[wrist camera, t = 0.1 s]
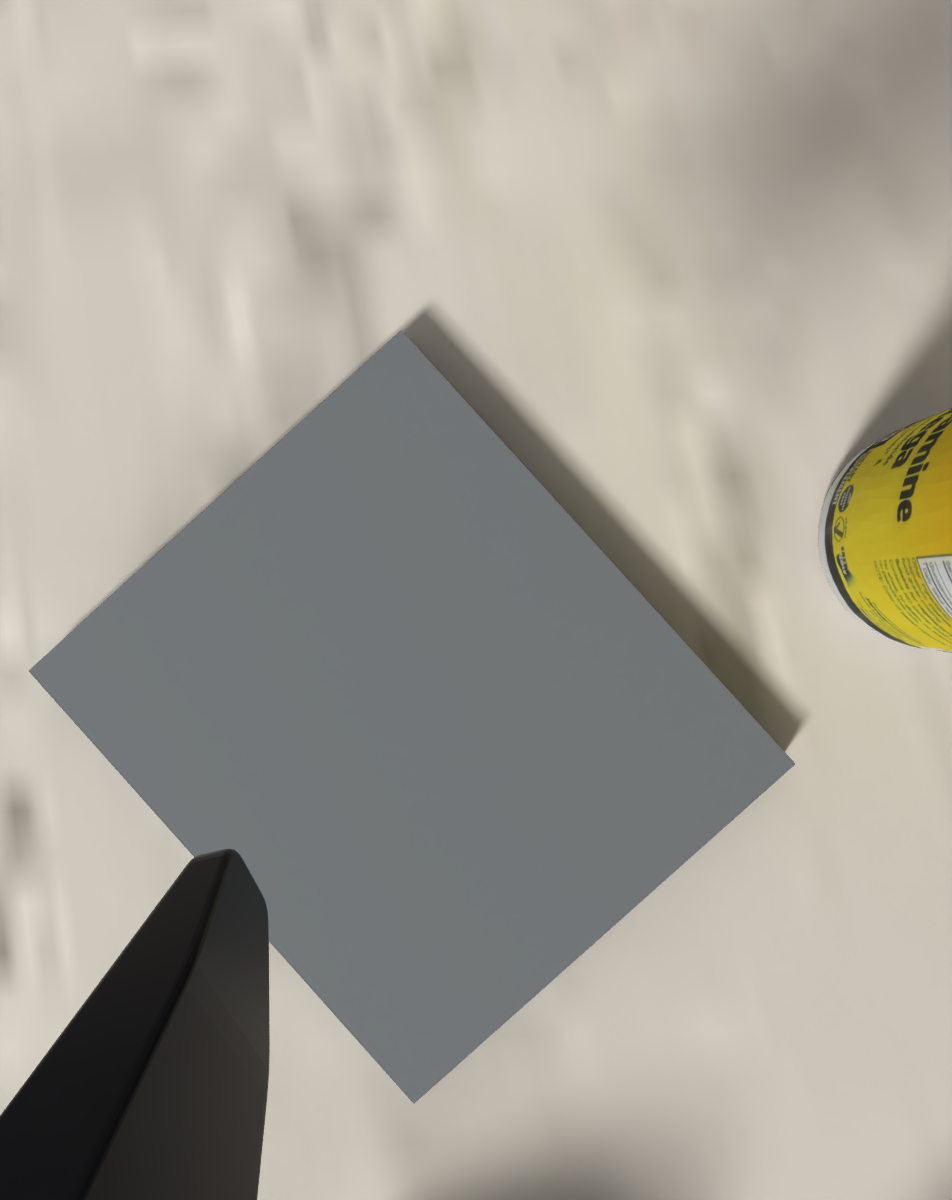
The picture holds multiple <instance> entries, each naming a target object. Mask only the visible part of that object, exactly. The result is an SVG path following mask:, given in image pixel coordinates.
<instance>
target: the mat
mask: <svg viewBox="0 0 952 1200" xmlns="http://www.w3.org/2000/svg"><path fill="white" fill-rule="evenodd" d="M29 672H30V673H31V674H32V675H33V676H34V678H35V679H36V680H37V681H38V682H39V683H40V684H41V685H42V687H43V688H44V689H45V690H46V691H47V692H48V693H49V694H50V696H51V697H52V698H53V699H54V700H55V701H56V702H57V703H58V705H59V706H60V707H61V708H62V709H63V710H64V711H65V712H66V714H67V715H68V716H69V717H70V718H71V719H72V720H73V721H74V723H75V724H76V725H77V726H78V727H79V728H80V729H81V730H82V732H83V733H84V734H85V735H86V736H87V737H88V738H89V739H90V740H91V742H92V743H93V744H94V745H95V746H96V747H97V748H98V749H99V751H100V752H101V753H102V754H103V755H104V756H105V757H106V758H107V760H108V761H109V762H110V763H111V764H112V765H113V766H114V767H115V769H116V770H117V771H118V772H119V773H120V774H121V775H122V776H123V778H124V779H125V780H126V781H127V782H128V783H129V784H130V785H131V787H132V788H133V789H134V790H135V791H136V792H137V793H138V794H139V796H140V797H141V798H142V799H143V800H144V801H145V802H146V803H147V805H148V806H149V807H150V808H151V809H152V810H153V811H154V812H155V814H156V815H157V816H158V817H159V818H160V819H161V820H162V821H163V822H164V824H165V825H166V826H167V827H168V828H169V829H170V830H171V831H172V833H173V834H174V835H175V836H176V837H177V838H178V839H179V840H180V842H181V843H182V844H183V845H184V846H185V847H186V848H187V849H188V851H189V852H190V853H191V854H192V855H193V856H194V857H196V856H198V855H202V854H206V853H211V852H215V851H219V850H224V849H234V850H236V851H237V852H238V853H239V854H240V856H241V857H242V859H243V860H244V862H245V864H246V866H247V868H248V869H249V871H250V873H251V875H252V876H253V878H254V880H255V882H256V884H257V885H258V887H259V889H260V891H261V893H262V894H263V897H264V899H265V902H266V906H267V911H268V922H269V942H270V943H271V944H272V945H273V946H274V947H275V948H276V949H277V951H278V952H279V953H280V954H281V955H282V956H283V957H284V958H285V960H286V961H287V962H288V963H289V964H290V965H291V966H292V967H293V969H294V970H295V971H296V972H297V973H298V974H299V975H300V976H301V978H302V979H303V980H304V981H305V982H306V983H307V984H308V985H309V986H310V988H311V989H312V990H313V991H314V992H315V993H316V994H317V995H318V997H319V998H320V999H321V1000H322V1001H323V1002H324V1003H325V1004H326V1006H327V1007H328V1008H329V1009H330V1010H331V1011H332V1012H333V1013H334V1015H335V1016H336V1017H337V1018H338V1019H339V1020H340V1021H341V1022H342V1024H343V1025H344V1026H345V1027H346V1028H347V1029H348V1030H349V1031H350V1033H351V1034H352V1035H353V1036H354V1037H355V1038H356V1039H357V1040H358V1042H359V1043H360V1044H361V1045H362V1046H363V1047H364V1048H365V1049H366V1051H367V1052H368V1053H369V1054H370V1055H371V1056H372V1057H373V1058H374V1060H375V1061H376V1062H377V1063H378V1064H379V1065H380V1066H381V1067H382V1068H383V1070H384V1071H385V1072H386V1073H387V1074H388V1075H389V1076H390V1077H391V1079H392V1080H393V1081H394V1082H395V1083H396V1084H397V1085H398V1086H399V1088H400V1089H401V1090H402V1091H403V1092H404V1093H405V1094H406V1095H407V1097H408V1098H409V1099H410V1100H411V1101H412V1102H413V1103H415V1102H416V1101H418V1100H419V1099H420V1098H421V1097H422V1096H423V1095H424V1094H425V1093H427V1092H428V1091H429V1090H430V1089H431V1088H432V1087H433V1086H434V1085H436V1084H437V1083H438V1082H439V1081H440V1080H441V1079H442V1078H443V1077H445V1076H446V1075H447V1074H448V1073H449V1072H450V1071H451V1070H452V1069H454V1068H455V1067H456V1066H457V1065H458V1064H459V1063H460V1062H461V1061H463V1060H464V1059H465V1058H466V1057H467V1056H468V1055H469V1054H470V1053H472V1052H473V1051H474V1050H475V1049H476V1048H477V1047H478V1046H479V1045H480V1044H482V1043H483V1042H484V1041H485V1040H486V1039H487V1038H488V1037H489V1036H491V1035H492V1034H493V1033H494V1032H495V1031H496V1030H497V1029H498V1028H500V1027H501V1026H502V1025H503V1024H504V1023H505V1022H506V1021H507V1020H509V1019H510V1018H511V1017H512V1016H513V1015H514V1014H515V1013H516V1012H518V1011H519V1010H520V1009H521V1008H522V1007H523V1006H524V1005H525V1004H527V1003H528V1002H529V1001H530V1000H531V999H532V998H533V997H534V996H536V995H537V994H538V993H539V992H540V991H541V990H542V989H543V988H545V987H546V986H547V985H548V984H549V983H550V982H551V981H552V980H553V979H555V978H556V977H557V976H558V975H559V974H560V973H561V972H562V971H564V970H565V969H566V968H567V967H568V966H569V965H570V964H571V963H573V962H574V961H575V960H576V959H577V958H578V957H579V956H580V955H582V954H583V953H584V952H585V951H586V950H587V949H588V948H589V947H591V946H592V945H593V944H594V943H595V942H596V941H597V940H598V939H600V938H601V937H602V936H603V935H604V934H605V933H606V932H607V931H609V930H610V929H611V928H612V927H613V926H614V925H615V924H616V923H617V922H619V921H620V920H621V919H622V918H623V917H624V916H625V915H626V914H628V913H629V912H630V911H631V910H632V909H633V908H634V907H635V906H637V905H638V904H639V903H640V902H641V901H642V900H643V899H644V898H646V897H647V896H648V895H649V894H650V893H651V892H652V891H653V890H655V889H656V888H657V887H658V886H659V885H660V884H661V883H662V882H664V881H665V880H666V879H667V878H668V877H669V876H670V875H671V874H673V873H674V872H675V871H676V870H677V869H678V868H679V867H680V866H682V865H683V864H684V863H685V862H686V861H687V860H688V859H689V858H690V857H692V856H693V855H694V854H695V853H696V852H697V851H698V850H699V849H701V848H702V847H703V846H704V845H705V844H706V843H707V842H708V841H710V840H711V839H712V838H713V837H714V836H715V835H716V834H717V833H719V832H720V831H721V830H722V829H723V828H724V827H725V826H726V825H728V824H729V823H730V822H731V821H732V820H733V819H734V818H735V817H737V816H738V815H739V814H740V813H741V812H742V811H743V810H744V809H746V808H747V807H748V806H749V805H750V804H751V803H752V802H753V801H754V800H756V799H757V798H758V797H759V796H760V795H761V794H762V793H763V792H765V791H766V790H767V789H768V788H769V787H770V786H771V785H772V784H774V783H775V782H776V781H777V780H778V779H779V778H780V777H781V776H783V775H784V774H785V773H786V772H787V771H788V770H789V769H790V768H792V767H793V766H794V765H795V763H794V762H793V761H792V760H791V758H790V757H789V756H788V755H787V754H786V753H785V752H784V751H783V750H782V749H781V747H780V746H779V745H778V744H777V743H776V742H775V741H774V740H773V739H772V738H771V736H770V735H769V734H768V733H767V732H766V731H765V730H764V729H763V728H762V727H761V725H760V724H759V723H758V722H757V721H756V720H755V719H754V718H753V717H752V716H751V714H750V713H749V712H748V711H747V710H746V709H745V708H744V707H743V706H742V705H741V703H740V702H739V701H738V700H737V699H736V698H735V697H734V696H733V695H732V694H731V692H730V691H729V690H728V689H727V688H726V687H725V686H724V685H723V684H722V683H721V681H720V680H719V679H718V678H717V677H716V676H715V675H714V674H713V673H712V671H711V670H710V669H709V668H708V667H707V666H706V665H705V664H704V663H703V662H702V660H701V659H700V658H699V657H698V656H697V655H696V654H695V653H694V652H693V651H692V649H691V648H690V647H689V646H688V645H687V644H686V643H685V642H684V641H683V640H682V638H681V637H680V636H679V635H678V634H677V633H676V632H675V631H674V630H673V629H672V627H671V626H670V625H669V624H668V623H667V622H666V621H665V620H664V619H663V618H662V616H661V615H660V614H659V613H658V612H657V611H656V610H655V609H654V608H653V607H652V605H651V604H650V603H649V602H648V601H647V600H646V599H645V598H644V597H643V596H642V594H641V593H640V592H639V591H638V590H637V589H636V588H635V587H634V586H633V585H632V583H631V582H630V581H629V580H628V579H627V578H626V577H625V576H624V575H623V573H622V572H621V571H620V570H619V569H618V568H617V567H616V566H615V565H614V564H613V562H612V561H611V560H610V559H609V558H608V557H607V556H606V555H605V554H604V553H603V551H602V550H601V549H600V548H599V547H598V546H597V545H596V544H595V543H594V542H593V540H592V539H591V538H590V537H589V536H588V535H587V534H586V533H585V532H584V531H583V529H582V528H581V527H580V526H579V525H578V524H577V523H576V522H575V521H574V520H573V518H572V517H571V516H570V515H569V514H568V513H567V512H566V511H565V510H564V509H563V507H562V506H561V505H560V504H559V503H558V502H557V501H556V500H555V499H554V498H553V496H552V495H551V494H550V493H549V492H548V491H547V490H546V489H545V488H544V487H543V485H542V484H541V483H540V482H539V481H538V480H537V479H536V478H535V477H534V475H533V474H532V473H531V472H530V471H529V470H528V469H527V468H526V467H525V466H524V464H523V463H522V462H521V461H520V460H519V459H518V458H517V457H516V456H515V455H514V453H513V452H512V451H511V450H510V449H509V448H508V447H507V446H506V445H505V444H504V442H503V441H502V440H501V439H500V438H499V437H498V436H497V435H496V434H495V433H494V431H493V430H492V429H491V428H490V427H489V426H488V425H487V424H486V423H485V422H484V420H483V419H482V418H481V417H480V416H479V415H478V414H477V413H476V412H475V411H474V409H473V408H472V407H471V406H470V405H469V404H468V403H467V402H466V401H465V400H464V398H463V397H462V396H461V395H460V394H459V393H458V392H457V391H456V390H455V389H454V387H453V386H452V385H451V384H450V383H449V382H448V381H447V380H446V379H445V377H444V376H443V375H442V374H441V373H440V372H439V371H438V370H437V369H436V368H435V366H434V365H433V364H432V363H431V362H430V361H429V360H428V359H427V358H426V357H425V355H424V354H423V353H422V352H421V351H420V350H419V349H418V348H417V347H416V346H415V344H414V343H413V342H412V341H411V340H410V339H409V338H408V337H407V336H406V335H405V333H404V332H403V331H402V330H401V331H400V332H399V333H398V334H397V335H395V336H394V337H393V338H392V339H391V340H390V341H389V342H388V343H387V344H386V345H385V346H383V347H382V348H381V349H380V350H379V351H378V352H377V353H376V354H375V355H374V356H372V357H371V358H370V359H369V360H368V361H367V362H366V363H365V364H364V365H363V366H362V367H360V368H359V369H358V370H357V371H356V372H355V373H354V374H353V375H352V376H351V377H350V378H348V379H347V380H346V381H345V382H344V383H343V384H342V385H341V386H340V387H339V388H337V389H336V390H335V391H334V392H333V393H332V394H331V395H330V396H329V397H328V398H327V399H325V400H324V401H323V402H322V403H321V404H320V405H319V406H318V407H317V408H316V409H315V410H313V411H312V412H311V413H310V414H309V415H308V416H307V417H306V418H305V419H304V420H302V421H301V422H300V423H299V424H298V425H297V426H296V427H295V428H294V429H293V430H292V431H290V432H289V433H288V434H287V435H286V436H285V437H284V438H283V439H282V440H281V441H280V442H278V443H277V444H276V445H275V446H274V447H273V448H272V449H271V450H270V451H269V452H268V453H266V454H265V455H264V456H263V457H262V458H261V459H260V460H259V461H258V462H257V463H255V464H254V465H253V466H252V467H251V468H250V469H249V470H248V471H247V472H246V473H245V474H243V475H242V476H241V477H240V478H239V479H238V480H237V481H236V482H235V483H234V484H233V485H231V486H230V487H229V488H228V489H227V490H226V491H225V492H224V493H223V494H222V495H220V496H219V497H218V498H217V499H216V500H215V501H214V502H213V503H212V504H211V505H210V506H208V507H207V508H206V509H205V510H204V511H203V512H202V513H201V514H200V515H199V516H198V517H196V518H195V519H194V520H193V521H192V522H191V523H190V524H189V525H188V526H187V527H185V528H184V529H183V530H182V531H181V532H180V533H179V534H178V535H177V536H176V537H175V538H173V539H172V540H171V541H170V542H169V543H168V544H167V545H166V546H165V547H164V548H163V549H161V550H160V551H159V552H158V553H157V554H156V555H155V556H154V557H153V558H152V559H151V560H149V561H148V562H147V563H146V564H145V565H144V566H143V567H142V568H141V569H140V570H138V571H137V572H136V573H135V574H134V575H133V576H132V577H131V578H130V579H129V580H128V581H126V582H125V583H124V584H123V585H122V586H121V587H120V588H119V589H118V590H117V591H116V592H114V593H113V594H112V595H111V596H110V597H109V598H108V599H107V600H106V601H105V602H103V603H102V604H101V605H100V606H99V607H98V608H97V609H96V610H95V611H94V612H93V613H91V614H90V615H89V616H88V617H87V618H86V619H85V620H84V621H83V622H82V623H81V624H79V625H78V626H77V627H76V628H75V629H74V630H73V631H72V632H71V633H70V634H68V635H67V636H66V637H65V638H64V639H63V640H62V641H61V642H60V643H59V644H58V645H56V646H55V647H54V648H53V649H52V650H51V651H50V652H49V653H48V654H47V655H46V656H44V657H43V658H42V659H41V660H40V661H39V662H38V663H37V664H36V665H35V666H33V667H32V668H31V669H30V670H29Z"/></svg>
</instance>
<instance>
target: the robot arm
mask: <svg viewBox="0 0 952 1200" xmlns="http://www.w3.org/2000/svg"><path fill="white" fill-rule="evenodd" d="M268 1078H269V922H268V911H267V906H266V902H265V899H264V897H263V894H262V893H261V891H260V889H259V887H258V885H257V884H256V882H255V880H254V878H253V876H252V875H251V873H250V871H249V869H248V868H247V866H246V864H245V862H244V860H243V859H242V857H241V856H240V854H239V853H238V852H237V851H236V850H234V849H224V850H219V851H215V852H211V853H206V854H202V855H198V856H196V857H194V858H193V859H192V860H191V861H190V862H189V863H188V864H187V865H186V867H185V868H184V869H183V871H182V872H181V874H180V875H179V876H178V878H177V879H176V880H175V882H174V883H173V884H172V886H171V887H170V888H169V890H168V891H167V892H166V894H165V895H164V896H163V898H162V899H161V900H160V902H159V903H158V904H157V906H156V907H155V908H154V910H153V911H152V912H151V914H150V915H149V917H148V918H147V919H146V921H145V922H144V923H143V925H142V926H141V927H140V929H139V930H138V931H137V933H136V934H135V935H134V937H133V938H132V939H131V941H130V942H129V943H128V945H127V946H126V947H125V949H124V950H123V951H122V953H121V954H120V956H119V957H118V958H117V960H116V961H115V962H114V964H113V965H112V966H111V968H110V969H109V970H108V972H107V973H106V974H105V976H104V977H103V978H102V980H101V981H100V982H99V984H98V985H97V986H96V988H95V989H94V990H93V992H92V993H91V995H90V996H89V997H88V999H87V1000H86V1001H85V1003H84V1004H83V1005H82V1007H81V1008H80V1009H79V1011H78V1012H77V1013H76V1015H75V1016H74V1017H73V1019H72V1020H71V1021H70V1023H69V1024H68V1025H67V1027H66V1028H65V1029H64V1031H63V1032H62V1033H61V1035H60V1036H59V1038H58V1039H57V1040H56V1042H55V1043H54V1044H53V1046H52V1047H51V1048H50V1050H49V1051H48V1052H47V1054H46V1055H45V1056H44V1058H43V1059H42V1060H41V1062H40V1063H39V1064H38V1066H37V1067H36V1068H35V1070H34V1071H33V1072H32V1074H31V1075H30V1077H29V1078H28V1079H27V1081H26V1082H25V1083H24V1085H23V1086H22V1087H21V1089H20V1090H19V1091H18V1093H17V1094H16V1095H15V1097H14V1098H13V1099H12V1101H11V1102H10V1103H9V1105H8V1106H7V1107H6V1109H5V1110H4V1111H3V1113H2V1114H1V1115H0V1200H257V1194H258V1184H259V1174H260V1164H261V1154H262V1144H263V1134H264V1124H265V1113H266V1103H267V1092H268Z"/></svg>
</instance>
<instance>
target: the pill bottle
mask: <svg viewBox="0 0 952 1200" xmlns="http://www.w3.org/2000/svg"><path fill="white" fill-rule="evenodd" d="M818 546H819V555H820V561H821V564H822V568H823V571H824V574H825V576H826V579H827V581H828V583H829V585H830V587H831V589H832V591H833V593H834V594H835V596H836V597H837V599H838V600H839V602H840V603H841V604H842V606H843V607H844V608H845V609H846V610H847V612H848V613H849V614H850V615H851V616H852V617H853V618H854V619H856V620H857V621H858V622H859V623H860V624H862V625H863V626H864V627H866V628H867V629H869V630H870V631H872V632H874V633H875V634H877V635H879V636H882V637H884V638H886V639H888V640H891V641H893V642H896V643H900V644H903V645H907V646H913V647H918V648H923V649H929V650H936V651H945V652H951V653H952V408H951V409H948V410H946V411H944V412H941V413H939V414H936V415H934V416H931V417H929V418H927V419H924V420H921V421H918V422H916V423H913V424H911V425H909V426H907V427H904V428H902V429H900V430H898V431H895V432H893V433H891V434H889V435H887V436H885V437H883V438H882V439H880V440H878V441H876V442H874V443H873V444H871V445H870V446H868V447H867V448H865V449H864V450H863V451H861V452H860V453H859V454H858V455H856V456H855V457H854V458H853V459H852V460H851V461H850V462H849V463H848V464H847V465H846V466H845V468H844V469H843V470H842V471H841V473H840V474H839V476H838V477H837V478H836V480H835V481H834V483H833V484H832V486H831V488H830V490H829V492H828V494H827V496H826V499H825V501H824V504H823V507H822V511H821V515H820V521H819V530H818Z"/></svg>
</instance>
